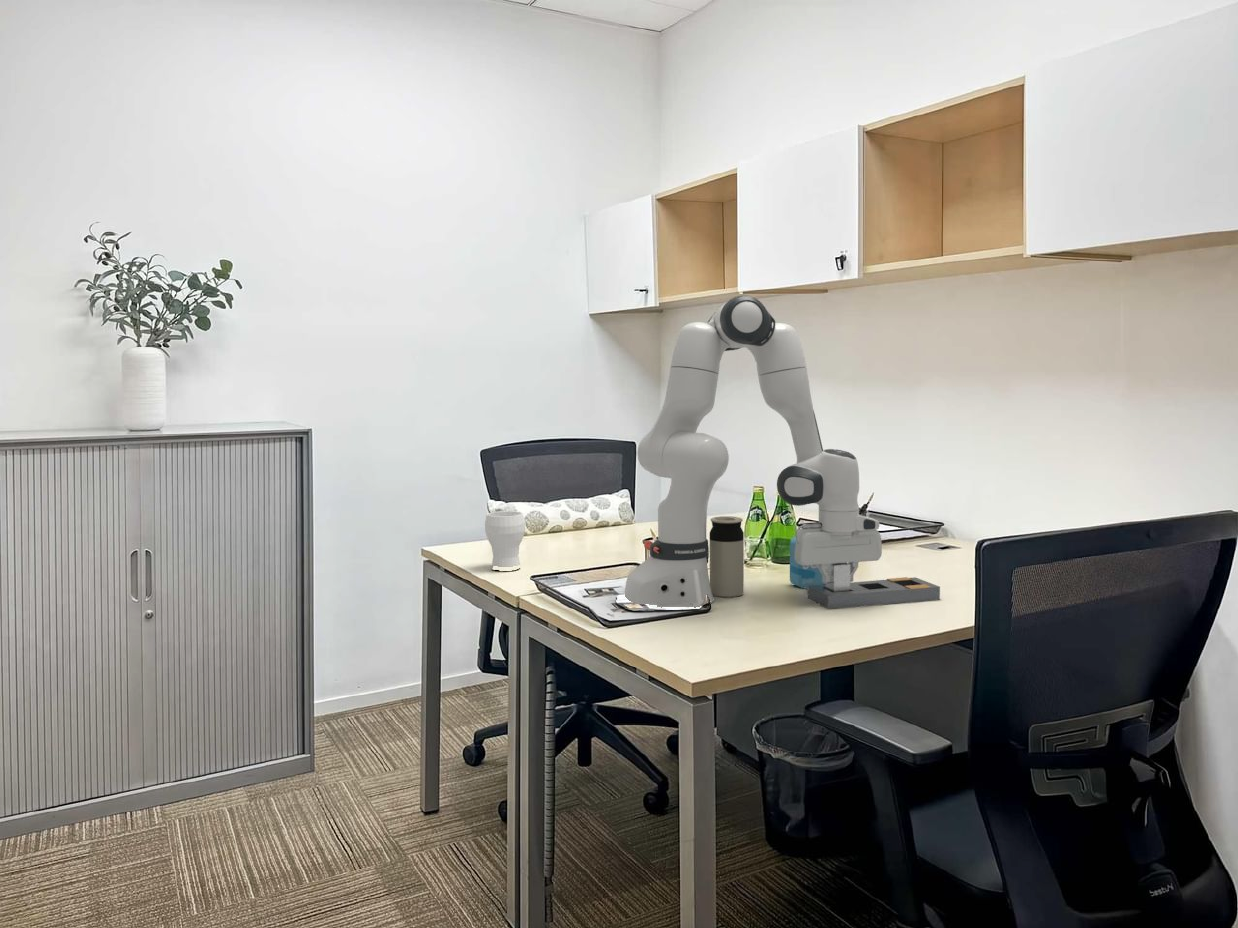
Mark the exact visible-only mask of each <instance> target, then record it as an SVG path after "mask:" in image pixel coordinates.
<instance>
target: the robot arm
mask: <svg viewBox="0 0 1238 928" xmlns="http://www.w3.org/2000/svg"><path fill="white" fill-rule="evenodd" d="M673 348H674V349H673V352H672V356H671V362H670V368H669V376H668V381H667V386H666V392H665V398H664V401H663V404H662V407H661V410H660V412H659V414H658V417H657V419H656V421H655V423H654V425H653V426H652V428H651V430H650V431H649V432H647V434H645V435H644V436H643V437H642V438H641V440H640V442H639V444H638V447H637V459H638V462H639V465H640V466H641V467H642V468H643V469H644V470H645V471H646V472H647V471H648V472H649V473H650V474H653V475H654V476H657V477H659V478H666V479H667V478H668V479H671V480H670V481H671V482H670V486H669V487H670V488H669V490H668V493H667V495H666V497H665V499H663V500H662V501H661V502H660V503H659V505H658V507H657V539H656V540H655V541H654V542H652V541H650V540H645V541H644V543H643V548H645V550H647V551H649V555H650V556H649V557H648V558H647V559H645V560H644V561H643V562H642V563H641V564H639V565H638V566H637V567H636V568H634V569H633V570H632V571H630V572H629V573H628V574H627V578H626V581H625V587H624V588H625V589H624V593H625V597H626V598H627V599H628V600H629V601H631V602H633V603H637V604H649V605H657V607H661V608H662V607H694V608H696V607H700V606H701V602H702V600H703V599H704V598H705V597H706V595H707V594H708V597H709V599H710V601H711V603H710V604H712V603H713V602H714V601H715V598H714V595H712V592H711V587H710V575H709V570H708V564H709V559H710V545H709V540H708V539H707V519H708V517H707V514H708V504H709V500H710V497H711V493H712V490H713V488H714V486H715V485H716V482H717V481H718V480H719V479H720V478H721V477H722V476H723V475H724V474H725V473H726V471H727V468H728V465H729V462H730V461H729V458H730V457H729V456H730V455H729V450H728V448H727V446H726V444H725V443H724V442H723V440H721V439H719V438H716V437H714V436H713V435H710V434H707V433H704V432H697V431H698V427H699V426H700V423H701V421H703V419H704V418H705V417H706V416H707V415H708V414H710V412H712V410H713V409H714V406H715V402H716V401H715V400H716V393H717V388H718V387H717V386H718V380H719V374H720V373H719V372H720V365H721V360H722V356H723V354H724V353H725V352H729V351H736V350H740V349H742V348H746V349H747V350H748V351H749V352H750V353H751V354H752V356H753V358H754V360H755V361H754V362H755V363H756V370H757V376H758V383H759V388H760V391H761V394H762V397H763V399H764V402H765V403H766V405H767V406H768V407H769V408H771V409H772V410H773V411H775V412H777V413H778V414H779V415H780V416H781V417H782V418H783V419H784V420H785V421H786V423H787V425H788V427H789V430H790V433H791V438H792V443H793V446H794V451H795V455H796V463H794V464H791V465H789V466H787V467H786V468H784V469H782V470H781V472H780V473H779V474H778V477H777V479H776V489H777V492H778V494H779V496H780V498H781V499H782V500H783V501H784V502H785V503H787V504H789V505H791V506H797V507H800V506H802V507H803V506H806V505H810V504H816V505H818V522H814V523H803V524H801V525H800V526H798V528H796V530H795V537H796V546H795V561H796V562H797V563H798V564H800V565H802V566H809V565H818V569H819V571H820V572H821V574H822V582H823V583H825V584H827V583H831V582H832V580H831V579H832V576H831V575H828V574H827V572H826V570H825V569H827V566H828V564H837V563H848V564H850V582H854V574H856V572H857V570H858V568H859V562H873V561H875V562H877V561H879V560H880V559H881V557H882V553H883V549H882V548H883V545H882V535H881V534H880V532H879V528H880V521H879V520H877V519H875V518H873V517H870V516H866V515H864V514H860V508H859V506H860V505H859V503H858V495H859V492H860V472H859V464H858V460H857V459H858V458H857V457H856V456H855V455H854V454H853V453H851V452H849V451H845V450H841V449H834V448H833V449H832V448H828V449H824V448H823V444H822V440H821V435H820V431H819V427H818V422H817V419H816V418H817V417H816V414H815V410H814V406H813V405H814V404H813V401H812V395H811V387H810V381H809V375H808V368H807V363H806V358H805V354H804V349H803V347H802V344H801V341H800V338H799V335H798V332H797V331H796V329H795V328H794V327H793V326H792V325H790V324H787V323H784V322H776V320H775V318H773V316H772V314H770V312H769V311H768V310H767V309H766V306H765V305H764V304H763V303H762V302H761V301H760V299H758V298H756V297H754V296H751V295H744V294H743V295H738V296H734V297H731V298H730V299H729V300H727V301H726V302H724V303H722V304H721V305H720V306H719V307H718V309H717V310H716V311H715V312H714V313H713V314H712V316H711V317H710V318H709V320H708V321H706V322H702V321H695V322H690V323H688V324H686V325H685V324H684V325H683V327H682V328H681V329H680V331H679V333H678V335H677V339H676V342H675V346H674V347H673Z"/></svg>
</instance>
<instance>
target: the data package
mask: <svg viewBox="0 0 1238 928" xmlns="http://www.w3.org/2000/svg"><path fill="white" fill-rule="evenodd" d="M795 546H796V536H794V537H792V538H791V539H790V542H789V581H790V583H791V585H793V586H796V587H799V588H801V589H808V586H812V585H825V583H823V582H822V574H821V572H820V571H819V569H818V565H809V566H802V565H800V564H798V563H797V562H796V561H795ZM825 570H826V569H825Z"/></svg>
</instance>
